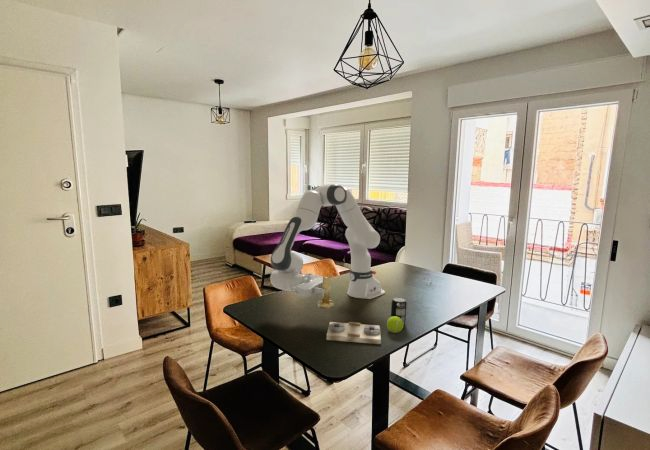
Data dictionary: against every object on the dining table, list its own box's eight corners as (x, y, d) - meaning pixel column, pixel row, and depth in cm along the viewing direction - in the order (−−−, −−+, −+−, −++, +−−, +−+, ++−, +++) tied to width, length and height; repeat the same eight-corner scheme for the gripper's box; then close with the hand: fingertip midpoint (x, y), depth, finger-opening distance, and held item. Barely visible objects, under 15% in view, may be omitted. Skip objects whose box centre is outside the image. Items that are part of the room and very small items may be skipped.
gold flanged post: (327, 301, 157) (328, 274, 155) (336, 306, 152) (337, 278, 150) (315, 304, 154) (315, 276, 152) (323, 309, 148) (324, 280, 146)
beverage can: (394, 320, 161) (396, 295, 160) (407, 324, 157) (409, 299, 155) (387, 324, 156) (389, 299, 154) (400, 328, 152) (402, 303, 150)
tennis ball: (383, 331, 149) (384, 316, 148) (392, 327, 154) (393, 312, 153) (396, 337, 144) (397, 321, 143) (405, 332, 149) (406, 317, 148)
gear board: (379, 329, 150) (379, 321, 150) (380, 344, 138) (381, 335, 137) (329, 326, 153) (329, 318, 152) (326, 339, 140) (326, 331, 139)
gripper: (288, 283, 148) (316, 289, 141) (312, 272, 166) (338, 276, 159) (288, 297, 149) (316, 303, 142) (312, 284, 167) (337, 289, 160)
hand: (328, 289), depth 151 cm, fingers closed on gold flanged post, 3 cm apart
